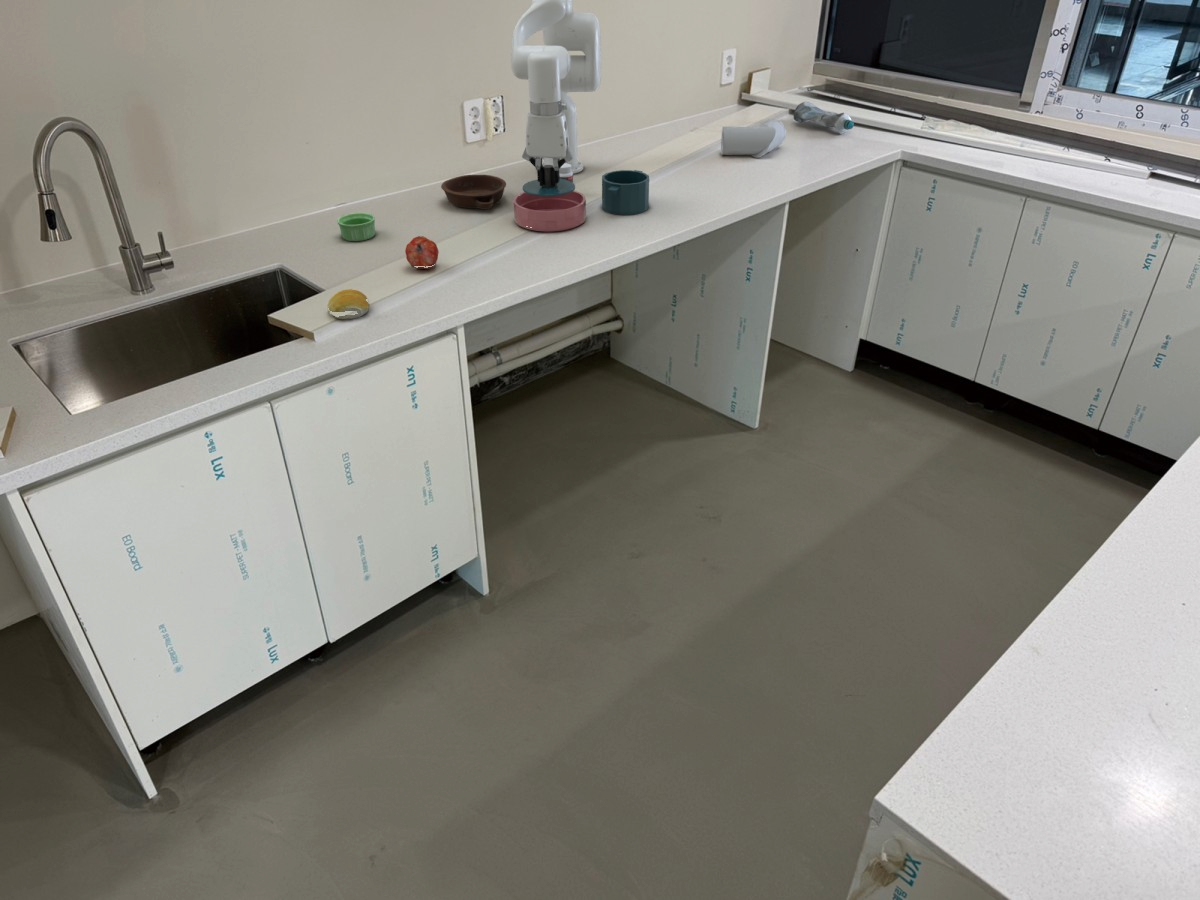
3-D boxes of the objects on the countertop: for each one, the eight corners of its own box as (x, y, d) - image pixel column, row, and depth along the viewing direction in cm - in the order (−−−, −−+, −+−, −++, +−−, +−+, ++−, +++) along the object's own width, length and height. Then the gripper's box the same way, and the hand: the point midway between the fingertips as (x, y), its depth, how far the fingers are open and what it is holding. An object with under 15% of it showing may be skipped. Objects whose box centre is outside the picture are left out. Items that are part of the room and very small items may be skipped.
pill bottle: (571, 199, 232) (570, 168, 227) (554, 198, 233) (553, 167, 228) (575, 193, 236) (574, 163, 231) (558, 192, 236) (557, 162, 232)
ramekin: (343, 230, 213) (340, 213, 211) (379, 228, 214) (376, 211, 211) (337, 243, 206) (334, 225, 203) (374, 241, 207) (372, 224, 204)
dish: (454, 219, 219) (452, 200, 217) (434, 194, 236) (432, 176, 233) (518, 209, 225) (517, 191, 222) (494, 186, 242) (492, 168, 239)
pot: (590, 214, 221) (589, 184, 217) (617, 194, 235) (617, 165, 230) (633, 220, 217) (634, 190, 213) (658, 200, 230) (659, 170, 226)
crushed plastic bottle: (785, 122, 297) (832, 137, 278) (789, 101, 293) (837, 114, 275) (815, 121, 302) (862, 136, 284) (818, 100, 299) (867, 113, 280)
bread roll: (367, 299, 179) (364, 281, 177) (371, 317, 172) (368, 299, 170) (327, 304, 177) (323, 286, 175) (329, 322, 170) (325, 304, 168)
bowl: (500, 222, 217) (498, 201, 214) (548, 203, 229) (547, 183, 226) (552, 238, 207) (551, 216, 204) (600, 218, 219) (600, 197, 216)
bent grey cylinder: (765, 160, 255) (791, 145, 269) (762, 124, 250) (788, 110, 264) (713, 165, 265) (740, 150, 279) (709, 130, 260) (736, 116, 274)
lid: (513, 194, 211) (511, 170, 207) (538, 180, 221) (537, 156, 217) (560, 201, 206) (559, 176, 203) (584, 186, 216) (583, 162, 213)
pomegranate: (410, 271, 197) (395, 260, 187) (417, 241, 197) (402, 228, 187) (440, 277, 196) (426, 266, 186) (447, 246, 196) (434, 233, 186)
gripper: (581, 105, 204) (583, 181, 215) (516, 103, 206) (521, 179, 217) (575, 113, 198) (577, 191, 208) (508, 110, 200) (514, 188, 211)
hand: (548, 184), depth 213 cm, fingers closed on lid, 2 cm apart
